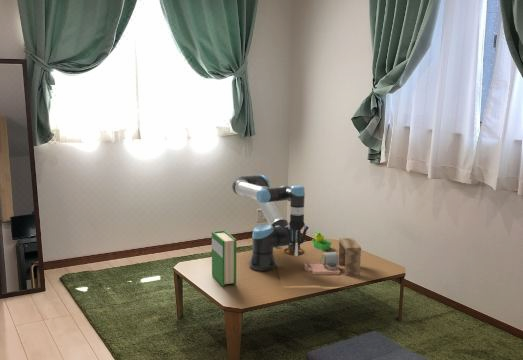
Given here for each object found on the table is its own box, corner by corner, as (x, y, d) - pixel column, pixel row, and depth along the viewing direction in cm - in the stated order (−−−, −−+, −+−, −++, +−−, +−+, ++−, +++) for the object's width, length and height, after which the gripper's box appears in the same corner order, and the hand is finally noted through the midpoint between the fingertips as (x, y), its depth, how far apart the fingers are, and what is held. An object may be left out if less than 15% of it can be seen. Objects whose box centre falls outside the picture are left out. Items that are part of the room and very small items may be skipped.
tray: (306, 274, 280) (306, 269, 280) (302, 265, 295) (303, 260, 294) (339, 274, 282) (340, 268, 281) (334, 265, 296) (334, 260, 295)
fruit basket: (332, 250, 323) (332, 232, 321) (320, 252, 319) (321, 234, 317) (320, 245, 333) (321, 228, 331) (309, 247, 328) (310, 230, 326)
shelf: (345, 275, 280) (346, 247, 277) (338, 264, 298) (339, 238, 295) (359, 275, 281) (361, 247, 278) (351, 264, 298) (353, 238, 296)
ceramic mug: (319, 262, 292) (321, 250, 291) (333, 262, 294) (334, 250, 293) (326, 270, 282) (327, 257, 281) (340, 270, 284) (341, 257, 283)
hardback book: (236, 284, 265) (236, 239, 261) (222, 286, 262) (222, 240, 258) (224, 273, 281) (224, 230, 277) (211, 274, 278) (211, 231, 274)
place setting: (284, 257, 309) (284, 248, 308) (270, 248, 327) (270, 239, 326) (310, 254, 316) (310, 245, 315) (295, 245, 334) (295, 236, 333)
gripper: (286, 215, 277) (285, 257, 281) (310, 215, 278) (308, 257, 282) (284, 212, 285) (283, 253, 289) (307, 212, 286) (306, 253, 290)
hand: (296, 255), depth 285 cm, fingers closed
